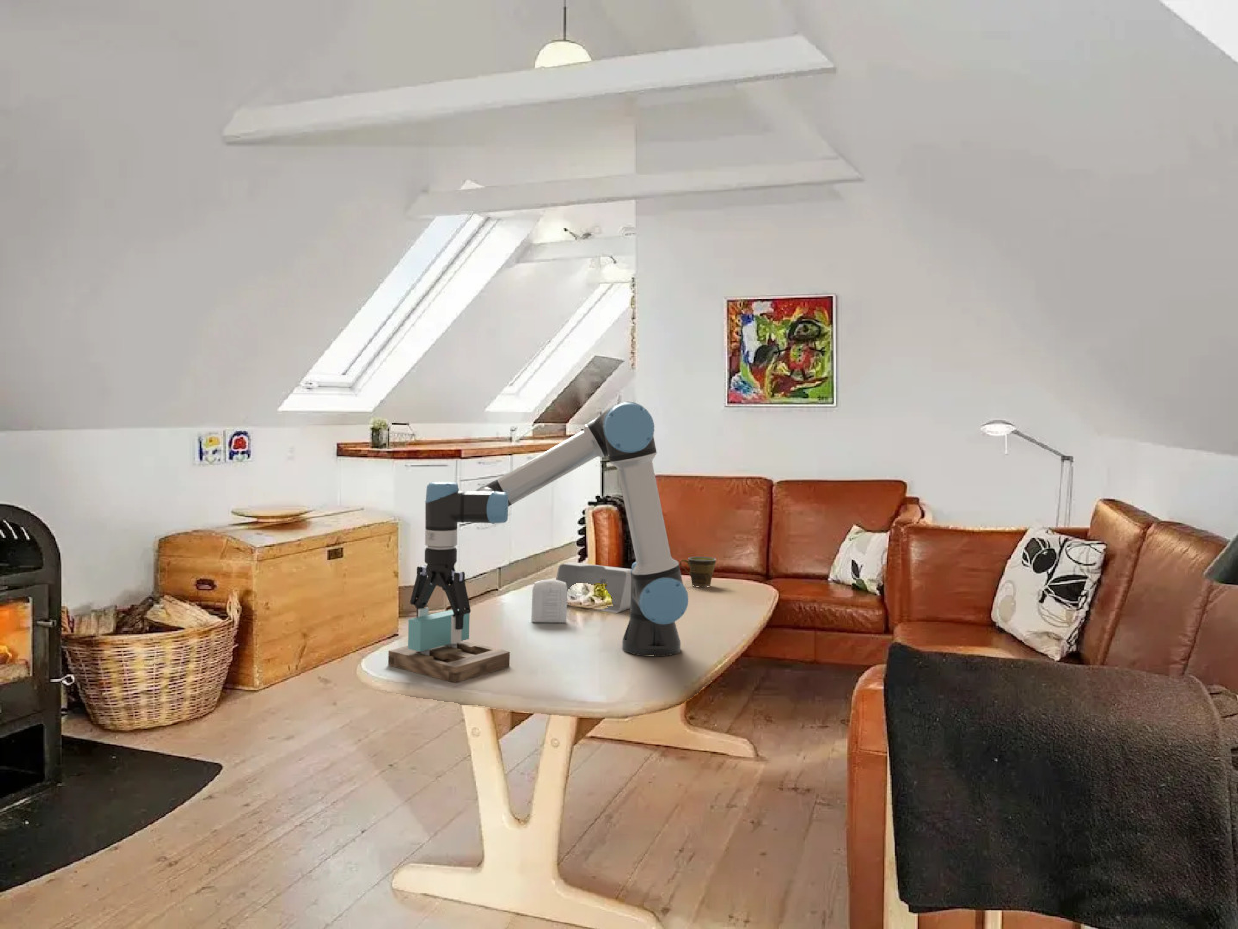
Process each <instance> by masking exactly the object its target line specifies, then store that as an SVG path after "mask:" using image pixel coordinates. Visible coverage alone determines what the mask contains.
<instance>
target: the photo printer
mask: <svg viewBox="0 0 1238 929" xmlns="http://www.w3.org/2000/svg"><path fill="white" fill-rule="evenodd" d="M531 593H532V595H531V596H532V598H531V615H530V616H531V617H530V618H531V620H530V621H531V622H532V623H561V624H562V623H564V624H565V623H566V622H567V613H568V612H567V611H568V606H567V586H566V583H565V582H562V581H559V580H556V579H542V580H537V581H534V583H533V586H532V591H531Z"/></svg>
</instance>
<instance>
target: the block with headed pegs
mask: <svg viewBox="0 0 1238 929" xmlns="http://www.w3.org/2000/svg"><path fill="white" fill-rule="evenodd" d="M458 611H459V609H458ZM453 614H454V613H453V610H452V609H449V610H444V611H439V612H434V613H430V614H428V615H425V616H420V617H417V616H416V617H412V618H408V624H407V625H408V632H407V633H408V635H407V636H408V638H407V639H408V640H407V642H408V643H407V646H408V649H411V650H415V651H419V652H421V654H424V655H428V656H429V653H430V649H432V648H436V647H440V646H444V645H448V644H449V647H453V648H457V643H455V644H451V616H452V615H453ZM470 615H471V612H470V613H468V614H465V615H464V617H463V629H462V633H461V641H466V640H467V641H468V640H469V639H470V619H471V618H470Z"/></svg>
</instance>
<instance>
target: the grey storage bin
mask: <svg viewBox="0 0 1238 929" xmlns="http://www.w3.org/2000/svg"><path fill="white" fill-rule="evenodd" d="M631 569H632V568H623V567H617V566H616V567H615V566H608V565H607V566H606V565H598V564H592V563H591V564H590V563H581V562H575V561H573V562H572V561H569V562H565V563H561V564H560V565H559V566H558V568H557V573H556V576H555V577H556V578H555V580H559V581H562V582H565V583H566V586H567V591H568V589H570V587H571V586H572V585H574V584H576V583H588V584H591V585H593V584H595V583H600V584H603V583H604V584H605V583H606V584H607V586H605V589H607V591H608V593H609V594H610V595H611V597H612V604H613V606H607V607H608V608H605V609H598V610H597V611H600V610H601V612H607V613H616V614H618V613H621V612H623V611H626V609H627V610H630V600H631Z"/></svg>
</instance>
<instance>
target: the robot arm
mask: <svg viewBox="0 0 1238 929" xmlns="http://www.w3.org/2000/svg"><path fill="white" fill-rule="evenodd" d="M654 433H655V423H654V420H653V417H652V415H651V413H650V412H649V411H648V409H646V408H645V407H644V406H643V405H641V404H639V403H636V402H634V401H633V402H632V401H626V402H625V401H624V402H618V403H615V404H613V405H611V406H610V407H608V408H607V409H606V410H605V411H603V412H602V413H601V414H600V415H598V416H597V417H596V418H594V419H593V420H590V421H589V422H588V423H586V424H584V426H583V430H581V431H579V432H577V433H576V434H574V435H572V436H571V437H569V438H567V439H566V440H564V441H562V442H560V443H558V444H556V445H555V446H552V447H551V448H550V449H548V450H546V451H544V452H542V453H540V454H539V455H537V456H535V457H533V458H532V459H530V460H528V461H526V462H525V463H523V464H521V465H519V466H518V467H516V468H514V469H512V470H511V471H509V472H507V473H505V474H503V475H502V476H500V477H498V478H497V479H495V480H493V481H491V482H490V483H488V484H486V485H483V486H480V487H479V488H476V490H475V491H473V490H470V491H467V490H466V491H465V490H460V488H459V484H458V483H457V482H455V481H454V482H453V481H433V482H430V483H428V484H427V485H426V492H425V501H424V502H425V503H424V504H425V507H424V508H425V512H424V514H425V518H424V519H425V521H424V522H425V529H424V530H425V531H424V535H425V536H424V545H425V546H426V548H424V563H425V565H419V566H417V567H416V578H415V582H414V585H413V589H412V593H411V598H410V599H409V600H410V601H409V603H410V605H413V606H415V608H416V617H420V616H425V615H429V605H428V602H429V601H430V599H431V596H432V595H433V592H434V591H435V588H436V587H441V589H442V591H444V593H445V595H446V597H447V600H448V602H449V605H450V608H451V610H453V613H454V614H453V615H452V616H451V644H455V643H459V642H461V633H462V629H463V617H464V615H465V614H468V613H470V614H471V611H472V610H471V606H470V601H469V596H468V592H467V587H466V581H465V580H466V578H465V577H466V574H465V571H456V570H455V565H456V563H457V562H458V559H457V558H458V557H457V556H458V549H457V548H456V546H458V523H462V524H463V523H476V524H480V523H481V524H493V525H494V524H505V523H506V522H507V521H508V519H509V507H510V506H512V505H514V504H515V503H518V502H520V501H521V500H523V499H525V498H526V497H528V496H530V495H532V494H533V493H536V492H537V491H538V490H540V489H542V488H543V487H546V486H548V485H549V484H551V483H553V482H554V481H557V480H558V479H560V478H561V477H563V476H565V475H567V474H569V473H571V472H572V471H574V470H576V469H577V468H580V467H582V466H583V465H585V464H587V463H588V462H590V461H592V460H594V459H596V458H598V457H599V458H606V457H607V456H608V460H609V463H610V464H611V465H612V466H614V468H615V467H616V469H617V473H618V479H619V483H620V487H621V488H620V489H621V493H622V497H623V498H622V499H623V503H624V508H625V512H626V517H627V523H628V527H629V532H630V538H631V542H632V547H633V552H634V558H635V562H633V563H632V565H631V568H630V569H631V600H630V608H629V620H628V624H627V627H626V628H625V632H624V635H623V637H622V645H621V646H622V647H621V648H622V650H623V651H624V650H625V651H624V652H626V651H628V652H627V653H629V652H630V653H629V654H632V653H634V654H633V655H636V654H639V655H638V656H643V655H654V656H653V657H663V656H662V655H668V656H671V655H670V654H673V655H676V654H679V653H680V652H681V643H682V642H681V640H680V636H679V632H678V629H677V628H678V627H677V625H676V622H677V621H678V620H680V619H681V618H682V616H684V614H685V612H686V611H687V608H688V606H689V605H688V604H689V594H688V591H687V588H686V586H685V585H684V582H683V577H682V573H681V568H680V567H681V566H680V562H679V561H678V560H676V559H674V558H673V557H672V555H671V549H670V545H669V540H668V539H669V538H668V533H667V530H666V524H665V520H664V514H663V510H662V505H661V500H660V493H659V490H658V485H657V479H656V474H655V468H654V465H653V460H654V458H655V457H656V455H657V454H658V452H657V448H656V446H657V445H656V442H655V437H654V435H655V434H654ZM426 564H427V565H426ZM458 609H459V611H458ZM679 651H680V652H679ZM675 653H676V654H675Z"/></svg>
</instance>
